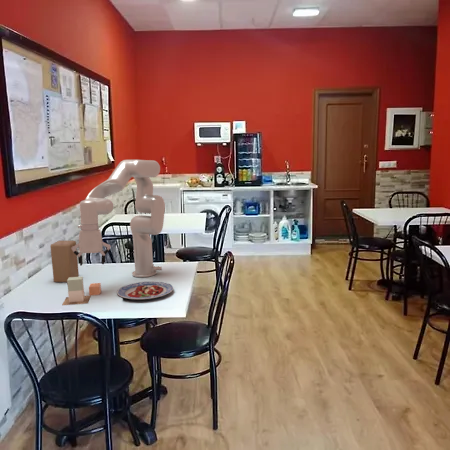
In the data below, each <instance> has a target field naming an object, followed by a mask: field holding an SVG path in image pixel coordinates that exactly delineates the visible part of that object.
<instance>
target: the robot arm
mask: <svg viewBox="0 0 450 450" xmlns="http://www.w3.org/2000/svg"><path fill="white" fill-rule="evenodd" d="M160 172H161V165H160V164H159V162H158V161H156V160H153V159H152V160H151V159H149V160H148V159H147V160H146V159H122V161H120V162H119V163H118V164H117V166H116V167H115V168H114V170H113V172H112V173H111V174H110V175H109V177H108V179H106V180H105V181H103V182H101V183H100V184H98V185H97V186H95V187H93V189H92V190H90V191H89V193H88V194H87V196H86V197H85V198H84V200H81V201H80V202H79V210H80V211H79V212H80V213H79V214H80V224H79V225H77V229H80V230H79V233H78V243H76V245H75V246H73V247H72V248H71V249H72V250H73V252H74V254H76V255H77V260H78V264H79V265H80V266H82V265H83V264H84V263H83V255H82V254H95V253H100V255H101V264H102V265H104V264H105V263H106V255H107V254H108V253H109V251H110V249H111V247H112V246H111V245H110V244H108V243H106V242H104V241H103V238H102V237H103V236H102V232H101V229H100V227H99V216H102V215H105V216H106V215H109V214H110V213H112V212H113V209H114V207H115V206H114V203H113V201H112V200H111V199H109V198H106V197H109V196H112V195H115V194H117V193H120V192H121V191H123V190H124V188H125V187H126V186H127V184H128V182H129V181H130V180H131V179H132V178H133V179H134V181H135V183H136V184H135V185H136V192H135V193H136V195H135V204H134V207H135V208H134V209H135V210H136V211H137V213H143V214H142V215H135V216H132V218H131V220H130V222H129V227H130V231H131V234H132V241H133V243H132V244H133V257H134V259H133V260H134V271H133V272H131V273H132V276H133V277H134V278H135V277H136V278H149V277H153V276H155V275H157V271H162V270H163V269H162V266H157V265H156V266H154V261H153V260H154V259H153V244H152V238H151V236H152V235H153V236H156V235H159V234H161V233H162V231H163V227H164V221H165V220H164V219H165V211H166V210H165V209H166V203H165V199H164V198H163V197H162V196H160V195H157V194H154V184H153V181H152V179H151V178H156V177H157V176H159V175H160ZM144 214H150V215H144ZM150 235H151V236H150ZM103 247H105V248H106V250H104V248H103ZM77 248H79V249H78V250H77V251H76V249H77Z"/></svg>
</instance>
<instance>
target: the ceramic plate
mask: <svg viewBox="0 0 450 450" xmlns="http://www.w3.org/2000/svg"><path fill="white" fill-rule="evenodd" d="M173 290H174V286H173V285H172V284H171V283H167V282H163V281H155V280H154V281H153V280H152V281H139V282H134V283H130V284H127V285H124V286H122V287H120V288H118V290H117V291H116V294H117V295H118V296H119V297H121V298H123V299H128V300H138V301H139V300H142V301H143V300H151V299H157V298H160V297H164V296H167V295H169V294H171V293H172V292H173Z"/></svg>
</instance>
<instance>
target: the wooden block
mask: <svg viewBox="0 0 450 450" xmlns="http://www.w3.org/2000/svg"><path fill="white" fill-rule="evenodd" d="M75 245H77V242H76V240H58V241H55V242H53V243H51V244H50V255H51V256H50V257H51V267H52V278H53V282H55V283H67V280H68V278H69V277H80V274H79V260H78V256H77V255H76V254H74V252H73V250H72V249H71V248H72V247H73V246H75ZM76 251H78V250H77V248H76Z"/></svg>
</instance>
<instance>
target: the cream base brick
mask: <svg viewBox="0 0 450 450" xmlns="http://www.w3.org/2000/svg"><path fill="white" fill-rule="evenodd" d="M67 295H68V296H67V297H69V302H81V301H84V298H85V297H84V296H85V288H83V290H80V291H68V290H67Z"/></svg>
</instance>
